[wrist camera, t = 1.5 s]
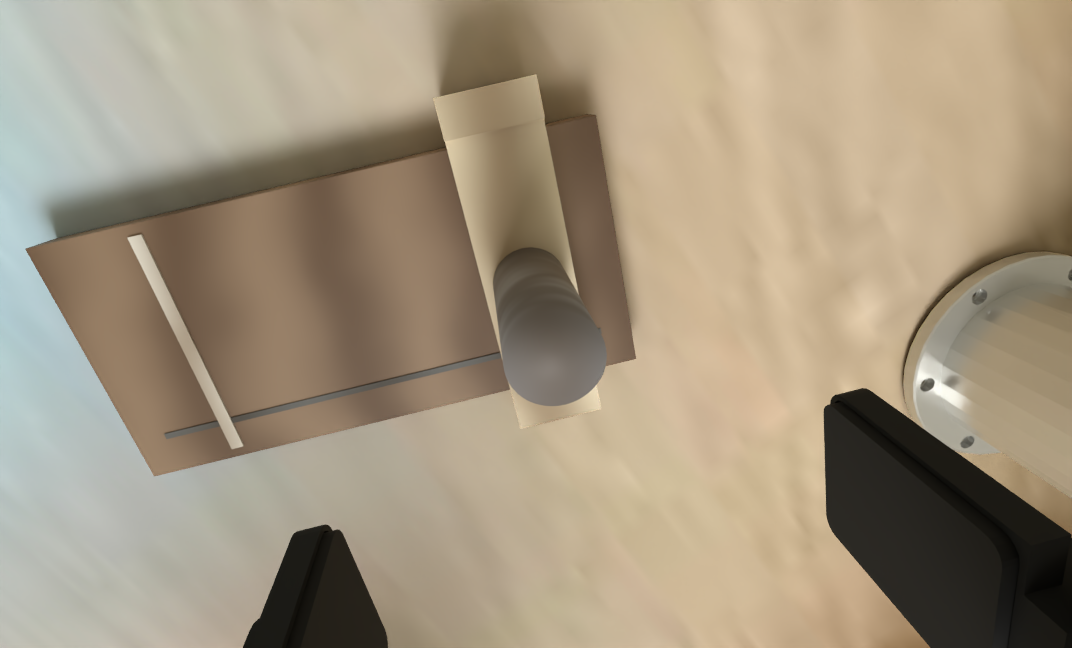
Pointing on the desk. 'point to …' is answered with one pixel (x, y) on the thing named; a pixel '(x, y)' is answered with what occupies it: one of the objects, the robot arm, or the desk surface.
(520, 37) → the desk surface
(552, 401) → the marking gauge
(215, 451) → the walnut board
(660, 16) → the desk surface
